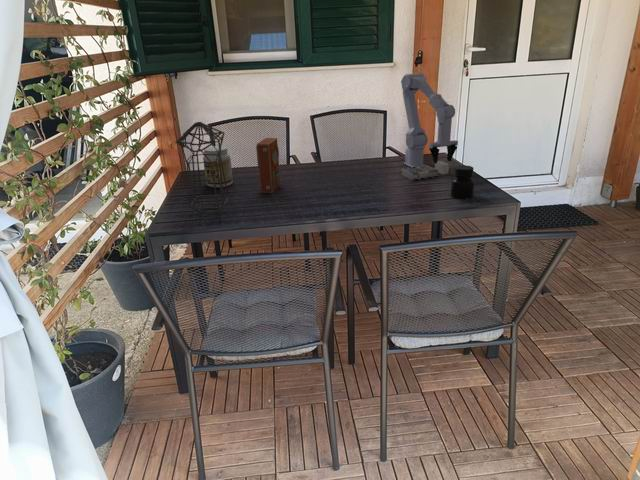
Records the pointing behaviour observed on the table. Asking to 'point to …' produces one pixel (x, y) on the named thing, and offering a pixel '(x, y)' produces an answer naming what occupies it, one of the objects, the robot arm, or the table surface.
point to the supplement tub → (226, 166)
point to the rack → (419, 172)
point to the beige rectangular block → (442, 167)
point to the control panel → (268, 164)
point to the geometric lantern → (205, 127)
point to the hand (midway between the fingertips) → (442, 161)
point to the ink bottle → (463, 182)
